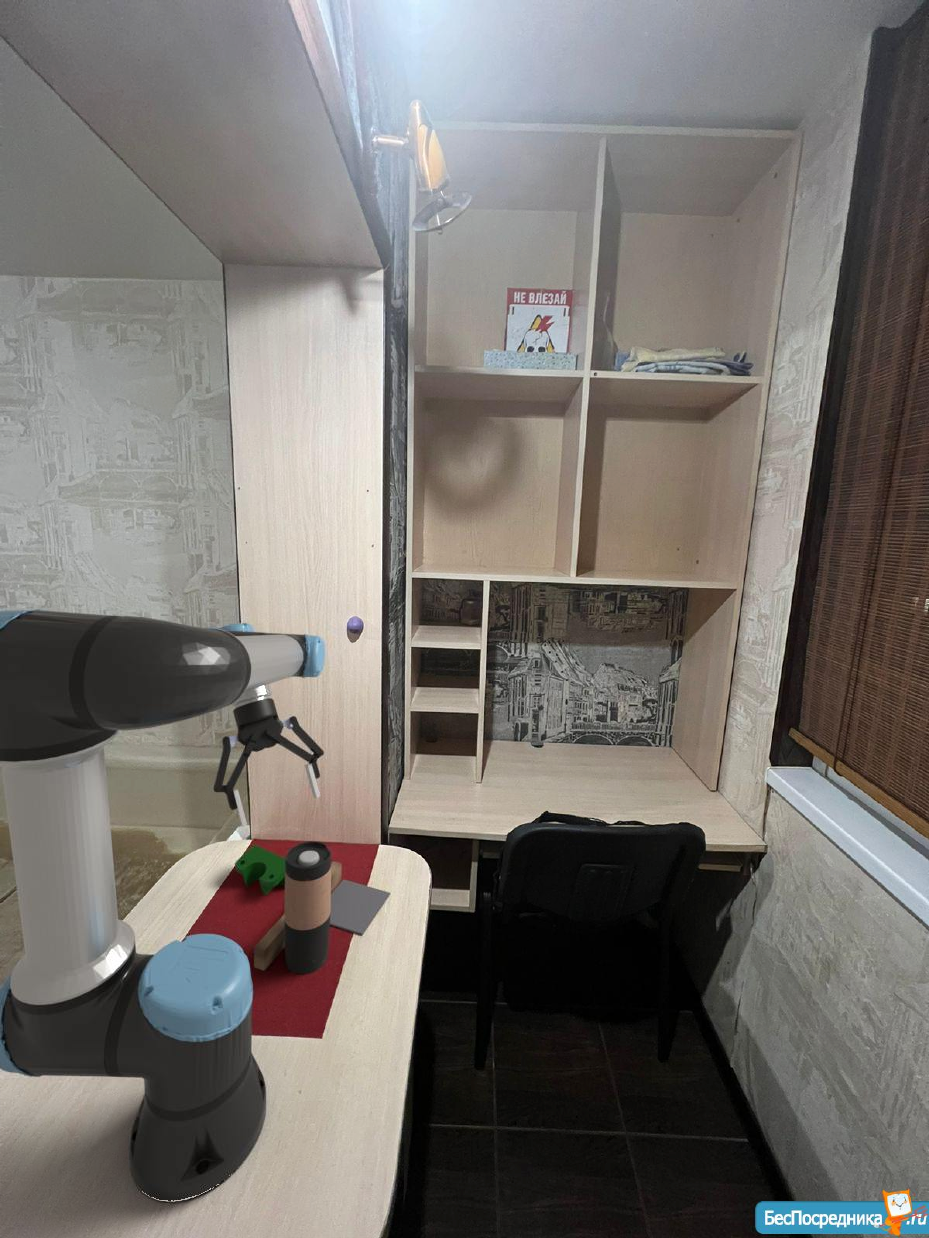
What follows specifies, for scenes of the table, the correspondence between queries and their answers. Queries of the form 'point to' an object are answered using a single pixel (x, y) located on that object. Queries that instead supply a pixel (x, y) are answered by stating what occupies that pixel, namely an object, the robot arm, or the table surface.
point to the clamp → (262, 868)
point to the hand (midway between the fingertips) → (282, 810)
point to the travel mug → (307, 906)
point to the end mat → (355, 906)
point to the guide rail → (283, 931)
